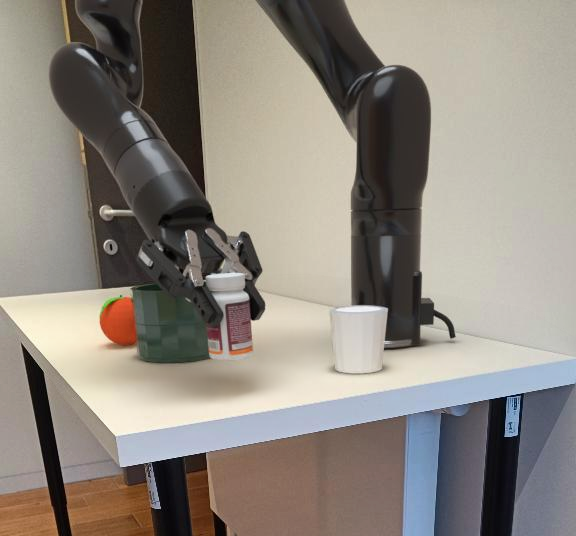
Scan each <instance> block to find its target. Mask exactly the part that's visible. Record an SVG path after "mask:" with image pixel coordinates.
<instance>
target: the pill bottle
mask: <svg viewBox="0 0 576 536" xmlns="http://www.w3.org/2000/svg"><path fill="white" fill-rule="evenodd" d="M205 282H206V287H208V288H209V290H210V292H211V293H212V295H213V297H214V298H215V300H216V301H217V303H218V305H219V306H220V308H221V310H222V311H223V314H224V317H223V319H222V321H221V323H220V325H219V326H218V327H215V328H210V327H209V325H208V323H207V324H206V325H207V335H208V347H209V356H210V357H211V358H210V359H212V360H215V361H217V360H218V361H235V360H242V359H246V358H249V357H251V356H252V355H253V353H254V346H253V345H254V343H253V330H252V320H251V316H250V299H249V296H248V294H247V293H246V292H244V291H243V288H245V277H244V274H243V273H235V272H232V273H222V274H213V275H212V274H209V275H208V274H207V275H206V276H205Z"/></svg>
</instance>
